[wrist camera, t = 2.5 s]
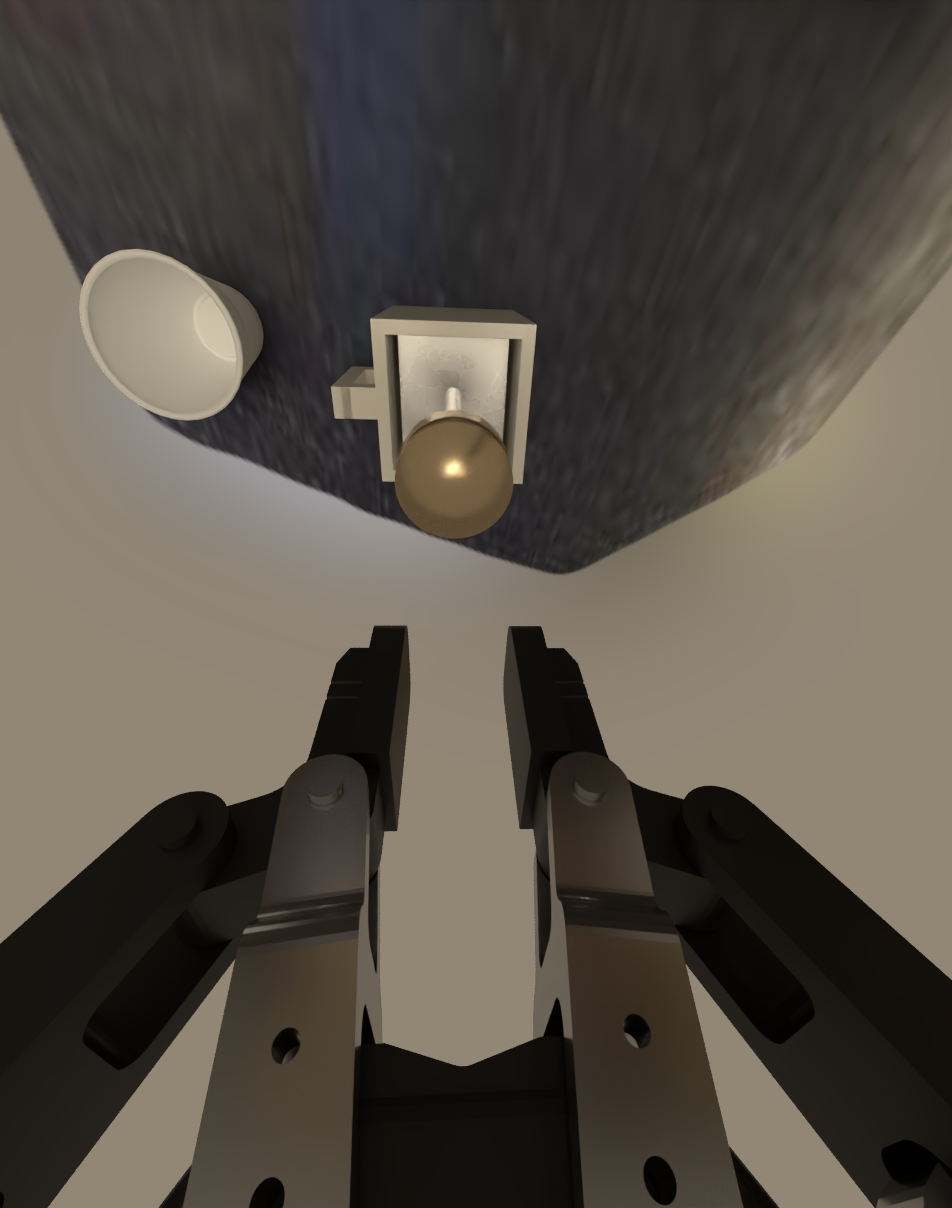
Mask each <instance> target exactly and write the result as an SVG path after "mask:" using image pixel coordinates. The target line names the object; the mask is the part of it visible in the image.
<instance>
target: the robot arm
mask: <svg viewBox="0 0 952 1208" xmlns="http://www.w3.org/2000/svg"><path fill="white" fill-rule="evenodd" d="M409 704H410V662H409V644H408V629H407V626H374V628H373V633H372V637H371V642H370V646H369V648H350V649H349V650H348V651H347V652H346V653H345V654H344V655H343V657H342V658H341V659H340V660H339V661H338V662H337V663H336V666H335V670H334V673H333V677H332V680H331V685H330V687H329V690H328V693H327V700H325V704H324V707H323V710H322V714H321V718H320V720H319V724H318V727H317V731H316V734H315V738H314V741H313V744H312V748H311V751H310V754H309V758H308V760H307V762H306V763H304V764H303V765H301V766H300V767H299V768H297V769H296V770H295V771H294V772H293V773H292V774H291V775H290V777H289V778H288V780H287V781H286V783H285V785H284V786H283V787H281V788H280V789H278V790H276V791H274V792H272V793H269V794H266V795H263V796H260V797H257V798H254V799H250V800H247V801H244V802H240V803H237V804H233V805H230V806H226V804H225V802H224V801H223V800H222V799H221V798H220V797H218V796H217V795H215V794H212V793H209V792H203V791H197V792H196V791H195V792H188V793H184V794H180V795H177V796H175V797H172V798H170V799H168V800H166V801H164V802H162V803H161V804H159V805H158V806H156V807H155V808H153V809H152V810H151V811H150V812H148V813H147V814H146V815H145V816H144V817H143V818H142V819H140V821H138V822H137V823H136V824H135V825H134V826H133V827H131V828H130V829H129V830H128V831H127V832H126V833H125V834H124V835H123V836H121V837H120V838H119V839H118V840H117V841H116V842H115V843H113V844H112V845H111V846H110V847H109V848H108V849H107V850H106V851H104V852H103V853H102V854H101V855H100V856H99V857H98V858H97V859H95V860H94V861H93V862H92V863H91V864H90V865H89V866H87V867H86V868H85V869H84V870H83V871H82V872H81V873H80V874H78V875H77V876H76V877H75V878H74V879H73V880H72V881H71V882H69V883H68V884H67V885H66V886H65V887H64V888H63V889H61V890H60V891H59V892H58V893H57V894H56V895H55V896H54V897H53V898H51V899H50V900H49V901H48V902H47V903H46V904H45V905H44V906H42V907H41V908H40V909H39V910H38V911H37V912H36V913H34V914H33V915H32V916H31V917H30V918H29V919H28V920H27V921H25V922H24V923H23V924H22V925H21V926H20V927H19V928H18V929H16V930H15V931H14V932H13V933H12V934H11V935H10V936H9V937H7V939H5V940H4V941H3V942H2V943H1V944H0V1208H47V1207H48V1206H49V1205H50V1204H51V1202H52V1201H53V1200H54V1198H55V1197H56V1196H57V1194H58V1193H59V1192H60V1190H61V1189H62V1188H63V1186H64V1185H65V1184H66V1182H67V1181H68V1180H69V1178H70V1177H71V1176H72V1174H73V1173H74V1172H75V1170H76V1169H77V1168H78V1166H79V1165H80V1164H81V1162H82V1161H83V1160H84V1158H85V1157H86V1156H87V1155H88V1153H89V1152H90V1151H91V1149H92V1148H93V1147H94V1145H95V1144H96V1142H97V1141H98V1140H99V1139H100V1137H101V1136H102V1135H103V1133H104V1132H105V1131H106V1129H107V1128H108V1127H109V1125H110V1124H111V1123H112V1121H113V1120H114V1119H115V1117H116V1116H117V1115H118V1113H119V1112H120V1111H121V1109H122V1108H123V1107H124V1105H125V1104H126V1103H127V1101H128V1100H129V1099H130V1097H131V1096H132V1095H133V1093H134V1092H135V1091H136V1090H137V1088H138V1087H139V1086H140V1084H141V1083H142V1082H143V1080H144V1079H145V1078H146V1076H147V1075H148V1073H149V1072H150V1071H151V1070H152V1068H153V1067H154V1066H155V1064H156V1063H157V1062H158V1060H159V1059H160V1057H161V1056H162V1055H163V1053H164V1052H165V1051H166V1050H167V1048H168V1047H169V1046H170V1044H171V1043H172V1042H173V1040H174V1039H175V1038H176V1036H177V1035H178V1034H179V1032H180V1031H181V1030H182V1029H183V1027H184V1026H185V1024H186V1023H187V1022H188V1021H189V1019H190V1018H191V1016H192V1015H193V1014H194V1013H195V1011H196V1010H197V1009H198V1007H199V1006H200V1004H201V1003H202V1002H203V1001H204V999H205V998H206V997H207V995H208V994H209V993H210V991H211V990H212V989H213V987H214V986H215V985H216V983H217V982H218V981H219V979H220V978H221V977H222V975H223V974H224V973H225V971H226V970H227V969H228V967H229V966H230V965H231V963H232V962H233V961H234V960H235V963H234V967H233V972H232V977H231V982H230V986H229V991H228V996H227V1001H226V1005H225V1010H224V1015H223V1019H222V1024H221V1029H220V1034H219V1038H218V1043H217V1048H216V1053H215V1057H214V1063H213V1067H212V1072H211V1076H210V1081H209V1086H208V1091H207V1096H206V1100H205V1105H204V1110H203V1114H202V1119H201V1124H200V1129H199V1133H198V1138H197V1143H196V1147H195V1152H194V1157H193V1161H192V1165H191V1166H190V1167H189V1169H188V1170H187V1171H186V1172H185V1174H184V1175H183V1176H182V1178H181V1179H180V1180H179V1182H178V1183H177V1184H176V1186H175V1187H174V1188H173V1189H172V1191H171V1192H170V1193H169V1195H168V1196H167V1197H166V1199H165V1200H164V1201H163V1203H162V1204H161V1205H160V1207H159V1208H779V1207H778V1206H777V1204H776V1203H775V1202H774V1201H773V1199H771V1197H770V1196H769V1195H768V1193H767V1192H766V1191H765V1190H764V1188H763V1187H762V1186H761V1185H760V1183H759V1182H758V1181H757V1180H756V1179H755V1177H754V1176H753V1175H752V1174H751V1172H750V1171H749V1170H748V1169H747V1167H745V1165H744V1164H743V1163H742V1161H741V1160H740V1159H739V1158H738V1156H737V1155H736V1154H735V1153H734V1151H733V1150H732V1149H731V1148H730V1147H729V1145H728V1141H727V1137H726V1132H725V1128H724V1124H723V1120H722V1115H721V1111H720V1107H719V1103H718V1099H717V1094H716V1091H715V1086H714V1082H713V1078H712V1073H711V1069H710V1065H709V1061H708V1057H707V1053H706V1048H705V1044H704V1040H703V1036H702V1031H701V1027H700V1023H699V1019H698V1015H697V1010H696V1006H695V1002H694V998H693V994H692V990H691V986H690V981H689V977H688V973H687V968H686V965H687V966H688V967H689V969H690V970H691V971H692V972H693V974H694V975H695V976H696V977H697V979H698V980H699V981H700V983H701V984H702V985H703V987H704V988H705V989H706V991H707V992H708V993H709V994H710V996H711V997H712V998H713V1000H714V1001H715V1002H716V1003H717V1005H718V1006H719V1007H720V1009H721V1010H722V1011H723V1012H724V1014H725V1015H726V1016H727V1018H728V1019H729V1020H730V1022H731V1023H732V1024H733V1025H734V1027H735V1028H736V1029H737V1031H738V1032H739V1033H740V1034H741V1036H742V1037H743V1038H744V1040H745V1041H746V1042H747V1043H748V1045H749V1046H750V1047H751V1049H752V1050H753V1051H754V1053H755V1054H756V1055H757V1056H758V1058H759V1059H760V1060H761V1062H762V1063H763V1064H764V1066H765V1067H766V1068H767V1069H768V1071H769V1072H770V1073H771V1074H772V1076H773V1077H774V1078H775V1080H776V1081H777V1082H778V1083H779V1085H780V1086H781V1087H782V1089H783V1090H784V1091H785V1093H786V1094H787V1095H788V1097H789V1098H790V1099H791V1100H792V1102H793V1103H794V1104H795V1105H796V1107H797V1108H798V1109H799V1111H800V1112H801V1113H802V1115H803V1116H804V1117H805V1118H806V1120H807V1121H808V1122H809V1124H810V1125H811V1126H812V1128H813V1129H814V1130H815V1131H816V1133H817V1134H818V1135H819V1136H820V1138H821V1139H822V1140H823V1142H824V1143H825V1144H826V1146H827V1147H828V1148H829V1149H830V1151H831V1152H832V1153H833V1155H834V1156H835V1157H836V1159H837V1160H838V1161H839V1162H840V1164H841V1165H842V1166H843V1168H844V1169H845V1170H846V1171H847V1173H848V1174H849V1175H850V1177H851V1178H852V1179H853V1180H854V1182H855V1183H856V1184H857V1186H858V1187H859V1188H860V1189H861V1191H862V1192H863V1193H864V1195H865V1196H866V1197H867V1198H868V1200H869V1201H870V1202H871V1204H872V1205H873V1206H874V1208H952V980H951V979H950V978H949V977H948V976H946V975H945V974H944V973H943V972H942V971H941V970H940V969H939V968H937V967H936V966H935V965H934V964H933V963H932V962H931V961H930V960H928V959H927V958H926V957H925V956H924V955H923V954H922V953H921V952H919V951H918V950H917V949H916V948H915V947H914V946H913V945H911V944H910V943H909V942H908V941H907V940H906V939H905V938H904V937H902V936H901V935H900V934H899V933H898V932H897V931H896V930H895V929H894V928H892V927H891V926H890V925H889V924H888V923H887V922H886V921H885V920H883V919H882V918H881V917H880V916H879V915H878V914H876V912H874V911H873V910H872V909H871V908H870V907H869V906H867V905H866V904H865V903H864V902H863V901H862V900H861V899H860V898H859V897H857V896H856V895H855V894H854V893H853V892H852V891H851V890H850V889H849V888H847V887H846V886H845V885H844V884H843V883H842V882H841V881H839V880H838V879H837V878H836V877H835V876H834V875H833V874H831V873H830V872H829V871H828V870H827V869H826V868H825V867H824V866H823V865H821V864H820V863H819V862H818V861H817V860H816V859H815V858H814V857H813V856H811V855H810V854H809V853H808V852H807V851H806V850H805V849H804V848H802V847H801V846H800V845H799V844H798V843H797V842H795V840H793V839H792V838H791V837H790V836H789V835H788V834H787V833H785V832H784V831H783V830H782V829H781V828H780V827H779V826H778V825H776V824H775V823H774V822H773V821H772V820H771V819H770V818H769V817H768V816H766V815H765V814H764V813H763V812H762V811H761V810H760V809H759V808H757V807H756V806H755V805H754V804H752V803H751V802H750V801H749V800H748V799H746V798H744V797H743V796H741V795H740V794H738V793H736V792H734V791H731V790H729V789H726V788H722V787H717V786H702V787H698V788H696V789H693V790H692V791H691V792H689V793H688V794H687V796H686V797H685V799H680V798H677V797H673V796H669V795H665V794H662V793H658V792H655V791H651V790H648V789H645V788H643V787H641V786H638V785H636V784H635V783H633V782H631V781H630V780H628V779H627V777H626V775H625V774H624V773H623V771H622V770H621V769H620V768H619V767H618V766H617V765H616V764H615V763H613V762H612V761H610V760H609V758H608V755H607V753H606V750H605V747H604V743H603V740H602V737H601V734H600V731H599V728H598V725H597V722H596V719H595V716H594V712H593V709H592V706H591V703H590V700H589V699H588V694H587V691H586V688H585V685H584V684H583V678H582V675H581V672H580V669H579V666H578V663H577V662H576V661H575V660H574V659H573V658H572V657H571V655H570V654H569V653H568V652H567V651H566V650H565V649H564V648H547V646H546V643H545V638H544V634H543V631H542V628H541V626H509V628H508V635H507V646H506V657H505V668H504V704H505V711H506V712H505V713H506V721H507V729H508V737H509V745H510V753H511V761H512V770H513V778H514V786H515V795H516V803H517V810H518V819H519V827H520V829H533V830H534V837H535V844H536V853H535V857H534V904H535V905H534V906H535V954H536V980H535V981H536V982H535V995H534V1013H533V1040H531V1041H529V1042H526V1043H524V1044H521V1045H519V1046H516V1047H514V1048H512V1049H509V1050H506V1051H504V1052H502V1053H499V1054H497V1055H494V1056H492V1057H489V1058H487V1059H484V1060H482V1061H480V1062H477V1063H475V1064H472V1065H469V1066H456V1065H452V1064H449V1063H445V1062H443V1061H439V1060H436V1059H433V1058H430V1057H427V1056H423V1055H420V1054H417V1053H414V1052H411V1051H408V1050H405V1049H401V1048H398V1047H395V1046H392V1045H389V1044H385V1043H382V1010H381V994H380V865H379V864H380V860H381V854H382V845H383V837H384V831H397V827H398V817H399V806H400V795H401V785H402V776H403V766H404V756H405V745H406V735H407V725H408V715H409V714H408V713H409ZM685 963H686V964H685Z"/></svg>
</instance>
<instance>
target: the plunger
mask: <svg viewBox="0 0 952 1208" xmlns="http://www.w3.org/2000/svg"><path fill="white" fill-rule="evenodd" d="M508 350H509V339H504V338H475V337H447V336H418V335H398V351H399V372H400V393H401V413H402V434H403V446H402V450H401V453H400V457H399V460H398V464H397V467H396V472H395V489H396V494H397V498H398V501H399V503H400V505H401V507H402V509H403V511H404V512H405V514H406V515H407V516H408V518H409V519H410V520H411V521H412V522H413V523H414V524H416V525H417V526H418V527H419V528H421V529H423V530H424V531H426V532H428V533H430V534H433V535H436V536H439V537H444V538H453V539H455V538H465V537H470V536H473V535H476V534H479V533H481V532H483V531H485V530H486V529H488V528H489V527H491V526H492V525H493V524H494V523H495V522H497V521H498V520H499V518H500V517H501V516H502V515H503V513H504V512H505V510H506V508H507V506H508V504H509V502H510V499H511V496H512V491H513V473H512V468H511V464H510V461H509V458H508V455H507V451H506V448H505V445H504V443H503V428H504V412H505V397H506V381H507V366H508Z"/></svg>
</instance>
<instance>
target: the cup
mask: <svg viewBox="0 0 952 1208" xmlns="http://www.w3.org/2000/svg"><path fill="white" fill-rule="evenodd" d="M79 310H80V320H81V326H82V329H83V333H84V336H85V340H86V342H87V344H88V347H89V349H90V351H91V353H92V355H93V357H94V359H95V360H96V362H97V363H98V365H99V366H100V368H101V369H102V371H103V372H104V374H105V375H106V376H107V377H108V378H109V379H110V381H111V382H112V383H113V384H114V385H115V386H116V387H117V388H118V389H119V390H120V391H121V392H123V393H124V394H125V395H126V396H127V397H128V398H130V399H131V400H133V401H134V402H136V403H137V404H139V405H140V406H142V407H143V408H145V409H147V410H150V411H152V412H154V413H156V414H158V415H161V416H165V417H168V418H172V419H179V420H198V419H203V418H206V417H209V416H212V415H215V414H216V413H218V412H219V411H221V410H223V409H224V408H225V407H226V406H227V405H228V404H229V403H230V402H231V401H232V400H233V398H234V396H235V394H236V393H237V391H238V389H239V386H240V383H241V380H242V379H243V377H244V376H245V374H246V373H247V372H248V370H249V369H250V367H251V366H252V364H253V363H254V362H255V360H256V359H257V357H258V355H259V354H260V352H261V349H262V346H263V338H264V335H263V327H262V324H261V320H260V318H259V316H258V314H257V311H256V310H255V308H254V307H253V305H252V304H251V303H250V302H249V301H248V299H247V298H246V297H245V296H243V295H242V294H241V293H240V292H238V291H237V290H235V289H233V288H232V287H230V286H227V285H225V284H223V283H220V282H218V281H215V280H213V279H211V278H208V277H206V276H204V275H201V274H199V273H197V272H195V271H193V270H191V269H190V268H189V267H187V266H186V265H184V264H182V263H180V262H179V261H177V260H175V259H173V258H172V257H169V256H166V255H163V254H160V253H158V252H155V251H149V250H142V249H129V250H120V251H117V252H115V253H112V254H109V255H107V256H105V257H104V258H102V259H101V260H100V261H99V262H97V263H96V264H95V265H94V266H93V267H92V269H91V270H90V272H89V273H88V274H87V276H86V278H85V281H84V284H83V286H82V289H81V295H80V303H79Z"/></svg>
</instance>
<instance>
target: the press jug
mask: <svg viewBox="0 0 952 1208" xmlns="http://www.w3.org/2000/svg"><path fill="white" fill-rule="evenodd" d="M370 323H371V337H372V350H373V363H374V367H351V368H350V369H349V370H348V371H347V372H346V373H345V374H344V375H343V376H342V377H341V378H339V379H338V380H337V381H336V382H335V383H334V384H333V385H332V386H331V391H332V399H333V407H334V415H335V418H339V419H378V430H379V443H380V457H381V470H382V481H395V472H396V467H397V464H398V460H399V457H400V453H401V450H402V446H403V434H402V413H401V393H400V372H399V351H398V335H418V336H447V337H475V338H504V339H509V350H508V366H507V381H506V397H505V412H504V428H503V443H504V445H505V448H506V451H507V455H508V458H509V461H510V464H511V468H512V473H513V484H522V481H523V470H524V459H525V448H526V437H527V426H528V415H529V404H530V393H531V382H532V371H533V360H534V349H535V338H536V327H537V325H536V324H535V323H533V322H532V321H530V320H528V319H527V318H525V317H523V316H522V315H520V314H519V313H517V312H515V311H514V310H500V309H473V308H447V307H421V306H395V305H393V306H392V307H390V308H388V309H386V310H384V311H383V312H381V313H379V314H377V315H376V316H374V317H372V318H370Z"/></svg>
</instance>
